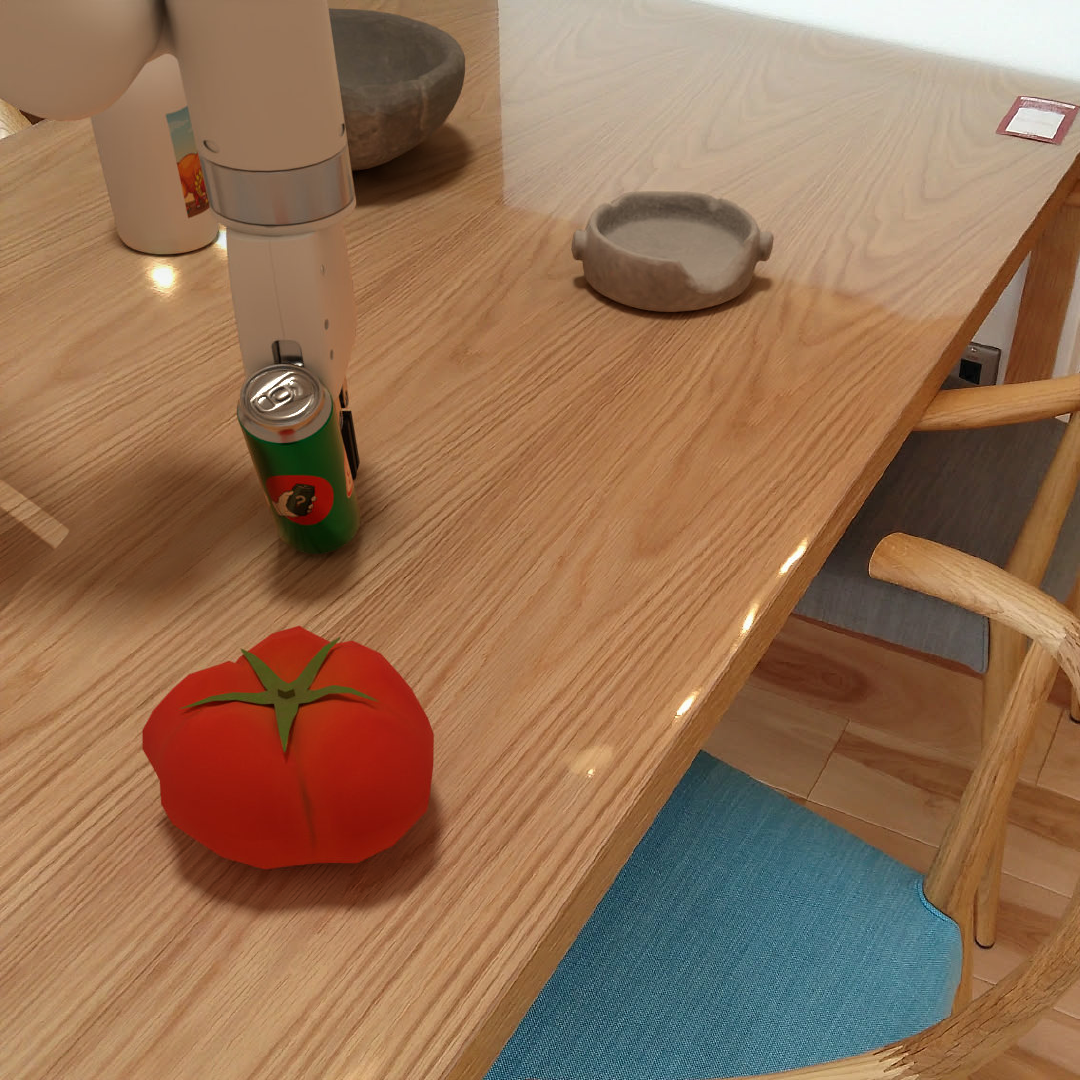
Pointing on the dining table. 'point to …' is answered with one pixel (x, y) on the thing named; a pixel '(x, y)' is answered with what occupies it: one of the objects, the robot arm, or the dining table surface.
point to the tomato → (293, 753)
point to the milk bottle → (154, 164)
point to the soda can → (299, 457)
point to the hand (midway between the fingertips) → (332, 473)
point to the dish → (670, 250)
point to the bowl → (393, 81)
